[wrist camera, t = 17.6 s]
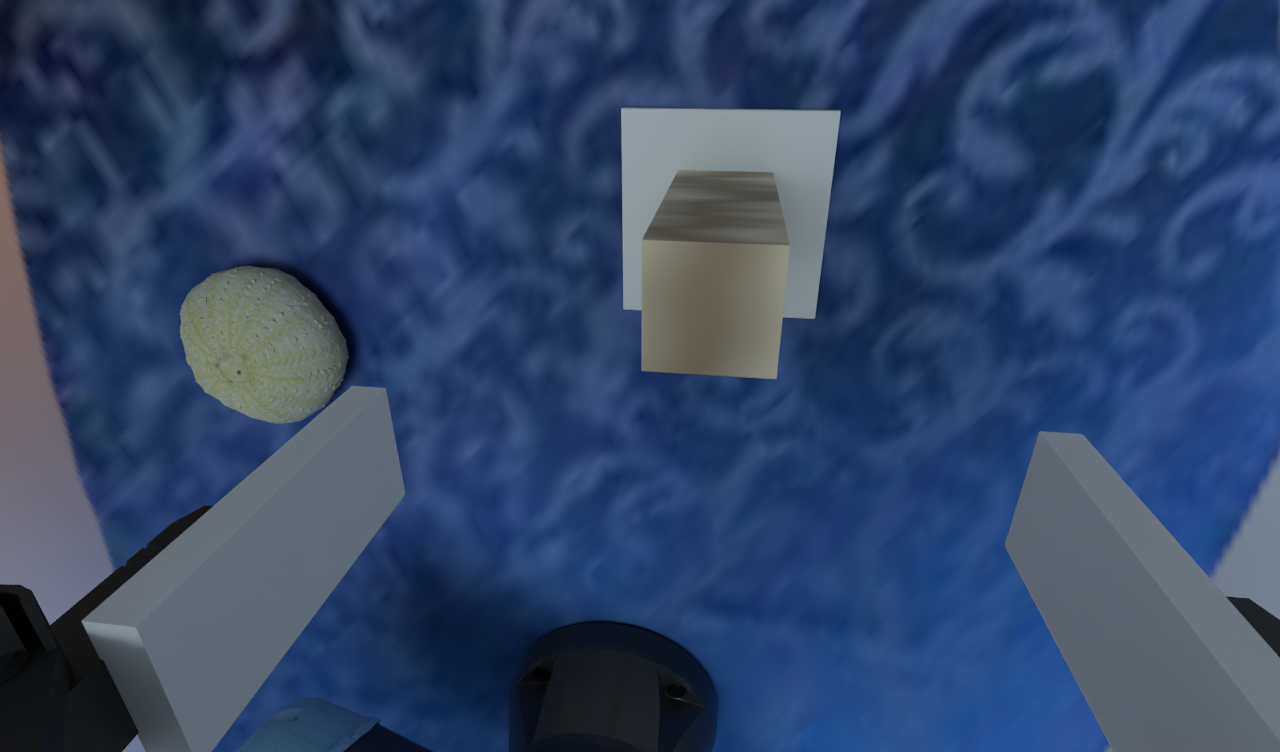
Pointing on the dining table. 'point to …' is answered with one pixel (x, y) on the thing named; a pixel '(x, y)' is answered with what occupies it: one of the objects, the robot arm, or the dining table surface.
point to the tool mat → (732, 143)
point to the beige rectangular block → (715, 276)
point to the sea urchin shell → (262, 344)
